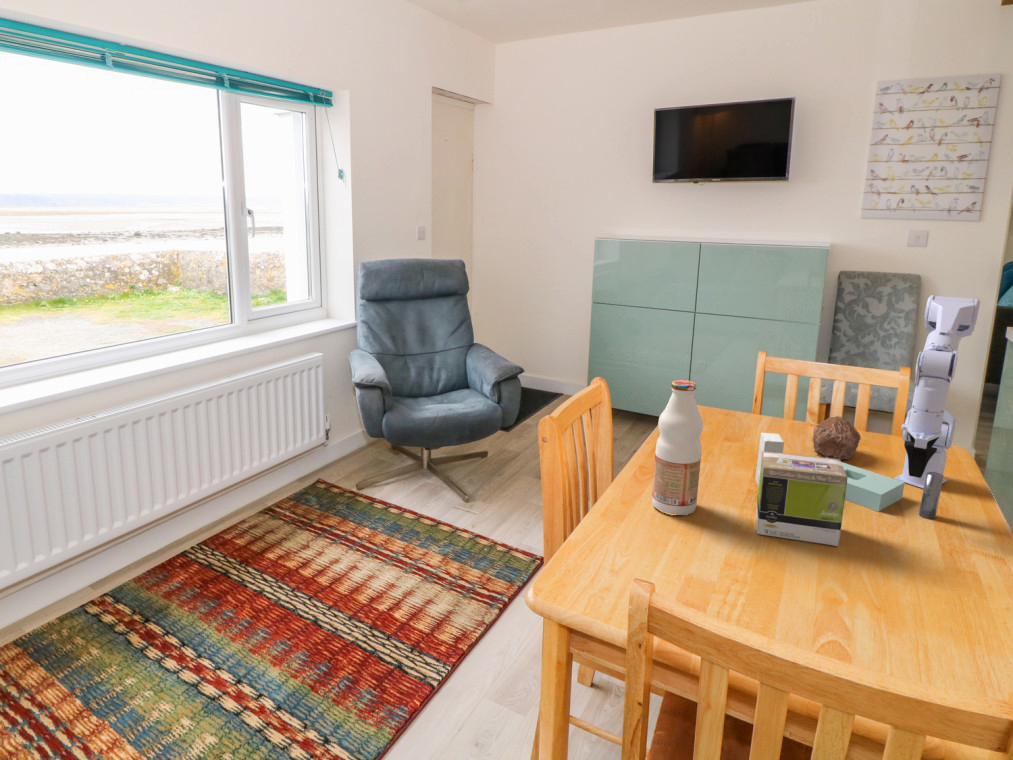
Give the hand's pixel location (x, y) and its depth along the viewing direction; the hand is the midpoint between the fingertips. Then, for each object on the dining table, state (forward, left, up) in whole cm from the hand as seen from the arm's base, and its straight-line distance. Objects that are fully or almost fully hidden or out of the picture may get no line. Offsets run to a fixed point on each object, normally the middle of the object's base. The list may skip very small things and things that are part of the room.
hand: (916, 470), depth 137 cm
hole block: (-2, -13, -10) cm, 17 cm away
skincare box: (+11, -26, -11) cm, 31 cm away
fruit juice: (+38, -31, -10) cm, 51 cm away
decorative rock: (-21, -27, -11) cm, 36 cm away
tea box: (+26, -10, -11) cm, 30 cm away
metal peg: (-3, +3, -10) cm, 11 cm away
